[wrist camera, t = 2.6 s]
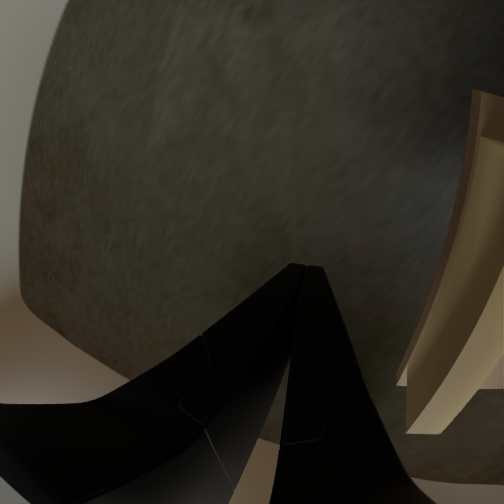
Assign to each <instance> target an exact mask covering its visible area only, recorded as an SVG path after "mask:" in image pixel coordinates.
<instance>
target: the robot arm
mask: <svg viewBox="0 0 504 504" xmlns="http://www.w3.org/2000/svg"><path fill="white" fill-rule="evenodd" d="M290 357H291V359H290ZM289 360H290V368H289V377H288V386H287V394H286V402H285V410H284V418H283V426H282V433H281V440H280V450H279V454H278V461H277V467H276V473H275V478H274V483H273V488H272V493H271V498H270V502H269V504H436V503H435V502H434V501H433V500H432V499H431V498H429V497H428V496H427V495H426V494H425V493H424V492H423V491H422V490H421V489H420V488H419V487H418V486H417V485H416V484H415V483H414V482H413V480H412V479H411V477H410V476H409V474H408V472H407V471H406V469H405V467H404V465H403V463H402V461H401V459H400V457H399V455H398V453H397V451H396V449H395V446H394V444H393V442H392V440H391V438H390V436H389V434H388V432H387V430H386V428H385V426H384V424H383V422H382V420H381V418H380V416H379V413H378V411H377V409H376V407H375V405H374V402H373V400H372V398H371V396H370V393H369V391H368V388H367V385H366V383H365V380H364V377H363V374H362V371H361V369H360V366H359V363H357V362H358V360H357V357H356V354H355V352H354V349H353V346H352V343H351V340H350V337H349V335H348V332H347V329H346V326H345V324H344V321H343V318H342V315H341V313H340V310H339V307H338V305H337V302H336V299H335V297H334V294H333V291H332V289H331V286H330V283H329V281H328V278H327V276H326V273H325V271H324V268H323V267H320V266H312V265H309V266H307V267H306V265H304V264H296V263H290V264H289V265H287V266H286V267H285V268H284V269H282V270H281V271H280V272H279V273H277V274H276V275H275V276H274V277H273V278H271V279H270V280H269V281H268V282H266V283H265V284H264V285H263V286H261V287H260V288H259V289H258V290H256V291H255V292H254V293H253V294H251V295H250V296H249V297H248V298H246V299H245V300H244V301H243V302H241V303H240V304H239V305H238V306H236V307H235V308H234V309H232V310H231V311H230V312H229V313H227V314H226V315H225V316H224V317H222V318H221V319H220V320H218V321H217V322H216V323H215V324H213V325H212V326H211V327H210V328H208V329H207V330H206V331H204V332H203V333H202V336H201V335H199V336H198V337H196V338H195V339H194V340H193V341H191V342H190V343H189V344H187V345H186V346H184V347H183V348H182V349H180V350H179V351H178V352H176V353H175V354H173V355H172V356H170V357H169V358H167V359H166V360H164V361H163V362H161V363H159V364H158V365H156V366H155V367H153V368H151V369H150V370H148V371H146V372H145V373H143V374H141V375H139V376H138V377H136V378H134V379H133V380H131V381H129V382H127V383H126V384H124V385H122V386H121V387H119V388H117V389H115V390H114V391H112V392H110V393H108V394H106V395H104V396H102V397H100V398H97V399H95V400H91V401H88V402H82V403H70V404H2V403H0V504H228V503H229V501H230V499H231V497H232V495H233V492H234V491H233V490H234V489H235V488H236V486H237V484H238V482H239V480H240V477H241V475H242V473H243V471H244V469H245V466H246V464H247V462H248V460H249V457H250V455H251V453H252V451H253V448H254V446H255V444H256V441H257V439H258V437H259V434H260V432H261V430H262V427H263V425H264V423H265V420H266V418H267V415H268V413H269V411H270V408H271V406H272V403H273V401H274V398H275V396H276V393H277V391H278V388H279V386H280V383H281V380H282V378H283V375H284V373H285V370H286V367H287V365H288V362H289Z"/></svg>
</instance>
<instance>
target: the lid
mask: <svg viewBox="0 0 504 504" xmlns="http://www.w3.org/2000/svg"><path fill="white" fill-rule="evenodd" d="M396 385H399V386H407V416H406V433H411V434H440V433H441V432H442V431H443V430H444V429H445V428H446V427H447V426H448V425H449V424H450V423H451V421H452V420H453V419H454V418H455V417H456V416H457V415H458V413H459V412H460V411H461V410H462V409H463V408H464V406H465V405H466V404H467V403H468V401H469V400H470V399H471V398H472V397H473V395H474V394H475V393H476V391H477V390H478V389H504V97H501V96H498V95H494V94H491V93H487V92H484V91H480V90H476V89H472V99H471V110H470V120H469V128H468V136H467V143H466V150H465V156H464V162H463V167H462V173H461V178H460V183H459V188H458V193H457V197H456V202H455V206H454V211H453V215H452V219H451V223H450V227H449V230H448V234H447V238H446V241H445V245H444V248H443V252H442V255H441V259H440V262H439V265H438V268H437V271H436V274H435V278H434V281H433V283H432V286H431V289H430V292H429V295H428V298H427V301H426V303H425V306H424V309H423V311H422V314H421V317H420V319H419V322H418V324H417V327H416V329H415V332H414V334H413V337H412V339H411V341H410V344H409V346H408V348H407V351H406V353H405V355H404V358H403V360H402V362H401V364H400V366H399V368H398V371H397V381H396Z"/></svg>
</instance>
